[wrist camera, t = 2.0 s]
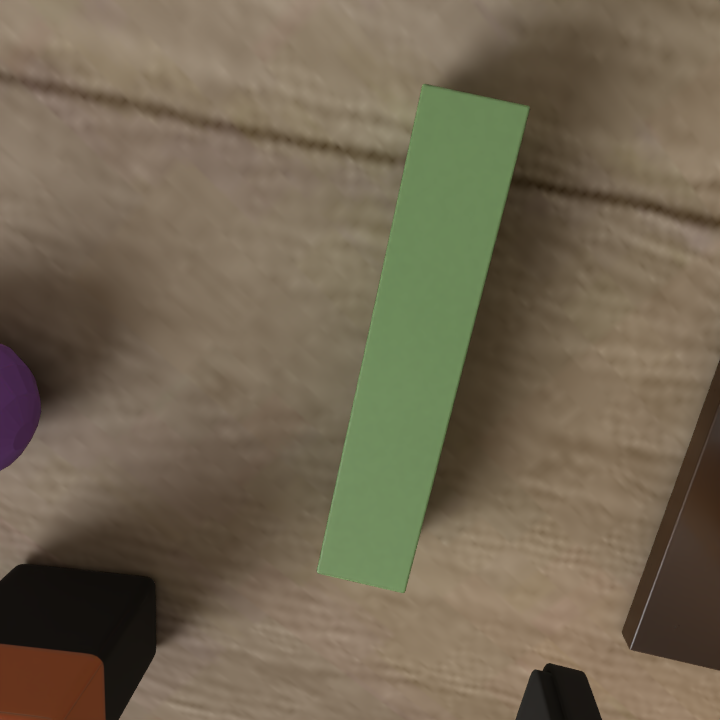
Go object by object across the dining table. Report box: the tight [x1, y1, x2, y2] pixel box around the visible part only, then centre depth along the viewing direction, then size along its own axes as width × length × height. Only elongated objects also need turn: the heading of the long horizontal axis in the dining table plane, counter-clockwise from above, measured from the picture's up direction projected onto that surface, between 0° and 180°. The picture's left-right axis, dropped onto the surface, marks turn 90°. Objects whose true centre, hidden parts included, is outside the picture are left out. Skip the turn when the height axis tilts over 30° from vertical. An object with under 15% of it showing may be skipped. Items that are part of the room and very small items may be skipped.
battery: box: [0, 564, 156, 720], centre depth 27 cm, size 4×7×10 cm, turn 86°
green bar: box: [317, 84, 530, 593], centre depth 25 cm, size 18×4×4 cm, turn 168°
